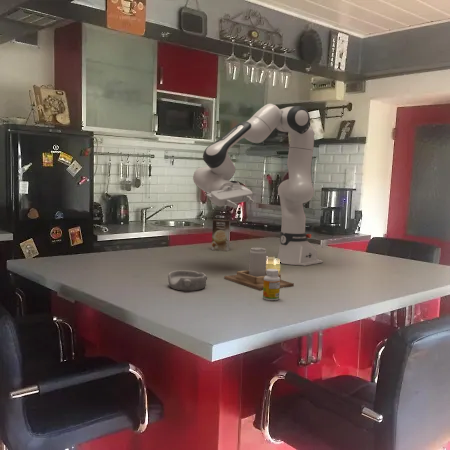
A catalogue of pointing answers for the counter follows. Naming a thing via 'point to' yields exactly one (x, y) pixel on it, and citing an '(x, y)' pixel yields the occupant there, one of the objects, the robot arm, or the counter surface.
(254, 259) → the beverage can
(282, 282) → the tray
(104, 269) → the counter surface
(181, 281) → the dish
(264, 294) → the supplement bottle
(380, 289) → the counter surface
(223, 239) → the coffee box
